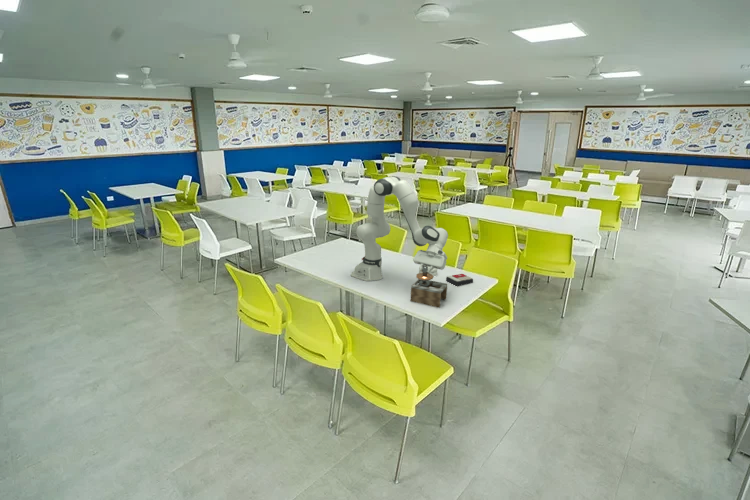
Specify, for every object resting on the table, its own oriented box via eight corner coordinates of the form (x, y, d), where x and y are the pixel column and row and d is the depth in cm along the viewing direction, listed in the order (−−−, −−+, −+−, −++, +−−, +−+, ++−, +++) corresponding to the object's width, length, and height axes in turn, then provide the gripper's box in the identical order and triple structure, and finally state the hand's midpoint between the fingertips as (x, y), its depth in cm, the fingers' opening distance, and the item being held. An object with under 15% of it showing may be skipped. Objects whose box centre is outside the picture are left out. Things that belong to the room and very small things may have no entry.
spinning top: (413, 286, 229) (414, 268, 225) (419, 280, 237) (420, 263, 234) (429, 289, 224) (430, 270, 221) (434, 283, 233) (436, 265, 230)
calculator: (473, 278, 260) (457, 280, 253) (472, 284, 261) (456, 287, 254) (462, 273, 269) (446, 275, 262) (461, 278, 270) (445, 281, 263)
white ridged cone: (436, 278, 267) (438, 253, 262) (418, 276, 270) (419, 252, 264) (437, 272, 279) (439, 248, 274) (419, 270, 282) (421, 247, 276)
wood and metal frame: (410, 301, 230) (411, 285, 227) (418, 292, 242) (419, 278, 239) (439, 307, 222) (440, 291, 219) (446, 298, 234) (447, 283, 231)
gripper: (417, 246, 236) (407, 265, 231) (447, 253, 224) (438, 273, 220) (420, 252, 241) (411, 270, 236) (449, 258, 229) (441, 278, 225)
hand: (424, 271), depth 228 cm, fingers closed on spinning top, 3 cm apart
